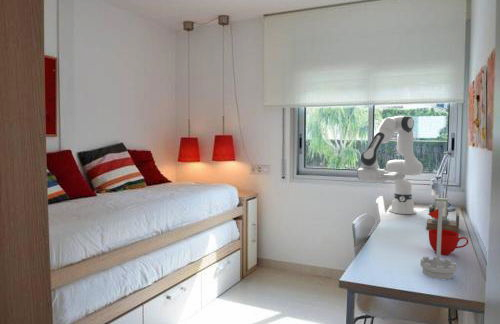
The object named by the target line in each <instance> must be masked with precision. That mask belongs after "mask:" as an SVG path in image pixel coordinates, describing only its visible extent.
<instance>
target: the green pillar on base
mask: <svg viewBox="0 0 500 324" xmlns="http://www.w3.org/2000/svg"><path fill="white" fill-rule="evenodd" d="M438 202H443V203H444V205H445V206H444V208H443V209H442V224H449V221H450V220H449V218H448V216H447V210H448V211H449V209H448V203H449V199H448V198H445V197H434V204H435V210H437V209H438V208H437V203H438ZM431 219H432V223H438V219H436V218H434V217H433V218H432V217H431Z"/></svg>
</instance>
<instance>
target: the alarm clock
mask: <svg viewBox="0 0 500 324" xmlns="http://www.w3.org/2000/svg"><path fill="white" fill-rule="evenodd" d="M428 209H429V210H428V214H429V213H431V212H433V211H435V203H433V204H432V205H431V206H430V207H429V208H428ZM430 217H431V219H432V218H433V217H432V216H430ZM447 217H449V209H448V210H447Z"/></svg>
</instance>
